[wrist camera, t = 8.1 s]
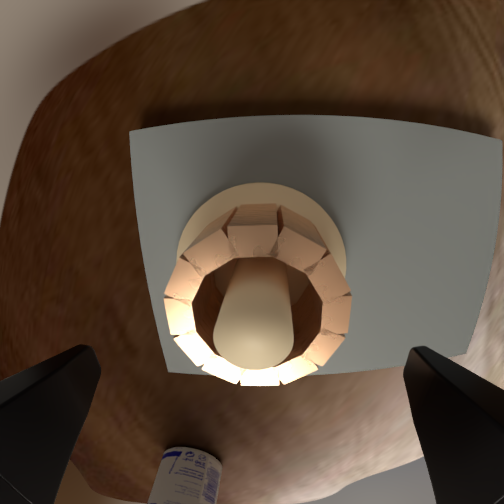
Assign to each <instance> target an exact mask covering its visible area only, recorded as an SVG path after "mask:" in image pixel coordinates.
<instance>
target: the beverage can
mask: <svg viewBox="0 0 504 504" xmlns="http://www.w3.org/2000/svg"><path fill="white" fill-rule="evenodd" d="M221 472H222V465H221V463H220V462H219V461H218V460H217V459H216V458H215V457H213V456H212V455H210V454H208V453H206V452H204V451H201V450H198V449H194V448H188V447H174V448H171V449H168V450H166V451H165V452H164V455H163V458H162V461H161V464H160V467H159V470H158V473H157V476H156V479H155V482H154V485H153V488H152V491H151V494H150V497H149V500H148V503H147V504H216V502H217V496H218V490H219V484H220V478H221Z"/></svg>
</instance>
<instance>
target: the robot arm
mask: <svg viewBox="0 0 504 504" xmlns="http://www.w3.org/2000/svg"><path fill="white" fill-rule="evenodd" d="M100 375H101V367H100V364H99V362H98V359H97V357H96V354H95V351H94V349H93V348H92V347H91V346H89V345H83V344H80V345H77V346H75V347H73V348H71V349H69V350H66V351H64V352H62V353H60V354H58V355H56V356H54V357H52V358H49V359H47V360H45V361H43V362H41V363H39V364H37V365H34V366H32V367H30V368H28V369H26V370H24V371H22V372H19V373H17V374H15V375H13V376H11V377H9V378H6V379H4V380H2V381H0V504H54V502H55V499H56V496H57V493H58V489H59V487H60V484H61V481H62V478H63V476H64V473H65V470H66V467H67V465H68V462H69V459H70V457H71V454H72V452H73V449H74V446H75V444H76V441H77V439H78V436H79V434H80V432H81V429H82V427H83V424H84V422H85V420H86V417H87V415H88V412H89V409H90V406H91V403H92V399H93V396H94V393H95V390H96V387H97V384H98V381H99V378H100ZM403 377H404V382H405V386H406V390H407V394H408V399H409V403H410V408H411V413H412V417H413V422H414V425H415V428H416V432H417V435H418V438H419V441H420V444H421V448H422V451H423V454H424V458H425V461H426V464H427V468H428V472H429V475H430V479H431V483H432V487H433V491H434V495H435V499H436V504H504V390H503V389H501V388H499V387H497V386H496V385H494V384H492V383H490V382H489V381H487V380H485V379H483V378H482V377H480V376H478V375H476V374H475V373H473V372H471V371H469V370H467V369H466V368H464V367H462V366H460V365H459V364H457V363H455V362H453V361H452V360H450V359H448V358H446V357H444V356H443V355H441V354H439V353H437V352H436V351H434V350H432V349H430V348H428V347H427V346H416V347H412V348H411V349H410V351H409V354H408V358H407V361H406V364H405V367H404V372H403Z"/></svg>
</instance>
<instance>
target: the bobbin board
mask: <svg viewBox="0 0 504 504" xmlns="http://www.w3.org/2000/svg"><path fill="white" fill-rule="evenodd" d="M129 133H130V151H131V164H132V176H133V187H134V196H135V205H136V213H137V221H138V228H139V235H140V242H141V248H142V254H143V260H144V266H145V272H146V277H147V283H148V288H149V293H150V298H151V302H152V307H153V312H154V316H155V321H156V325H157V329H158V334H159V338H160V342H161V346H162V350H163V354H164V357H165V361H166V365H167V368H168V372H174V373H186V374H201V375H213V374H211V373H208V372H206V371H204V370H202V366H203V364H202V365H200V366H197V365H196V364H195V363H194V362H193V361H192V360H191V359H190V358H189V357H188V355H187V354H186V353H185V352H184V351H183V350H182V349H181V347H180V346H179V345H178V344H177V343H176V342H175V341H174V339H173V338H174V336H175V335H173V334H171V333H170V328H169V324H168V319H167V314H166V309H165V304H164V297H165V296H166V294H164V292H165V290H166V287H167V285H168V282H169V280H170V278H171V275H172V273H173V271H174V268H175V266H176V264H177V261H178V259H179V257H180V256H181V255H182V254H183V252H184V251H185V250H186V249H187V248H188V247H189V245H190V244H191V243H192V242H193V241H194V240H195V239H196V237H197V236H198V235H199V234H200V233H201V232H202V231H203V230H204V228H205V227H206V226H207V225H208V224H209V223H211V222H212V221H214V220H215V219H217V218H218V217H220V216H222V215H223V214H225V213H226V212H228V211H229V210H231V209H232V208H234V207H236V206H237V207H238V209H239V207H240V205H241V204H270V203H276V210H278V208H279V207H280V205H283V206H285V207H286V208H288V209H290V210H292V211H294V212H296V213H297V214H299V215H301V216H303V217H305V218H307V219H308V220H310V221H311V222H312V224H314V225H315V226H316V228H317V230H318V232H319V233H320V235H321V237H322V239H323V240H324V242H325V244H326V246H327V247H328V249H329V251H330V253H331V254H332V256H333V258H334V260H335V262H336V263H337V265H338V267H339V269H340V271H341V273H342V274H343V276H344V278H345V280H346V282H347V284H348V286H349V288H350V289H351V291H350V293H351V295H352V302H351V311H350V319H349V327H348V333H344V335H345V339H344V341H343V342H342V343H341V344H340V346H339V347H338V348H337V349H336V351H335V352H334V353H333V354H332V355H331V357H330V358H329V359H328V360H327V362H326V363H325V364H324V365H323V366H320V365H318V364H317V365H318V370H316V371H314V372H312V373H309V374H307V375H321V374H336V373H347V372H358V371H367V370H376V369H384V368H391V367H398V366H405V364H406V361H407V358H408V354H409V351H410V349H411V348H412V347H416V346H427V347H428V348H430V349H432V350H434V351H436V352H437V353H439V354H441V355H443V356H444V357H446V358H448V357H453V356H457V355H462V354H466V352H467V349H468V346H469V343H470V341H471V338H472V335H473V332H474V329H475V326H476V323H477V320H478V316H479V313H480V310H481V306H482V303H483V299H484V295H485V291H486V287H487V283H488V279H489V274H490V270H491V265H492V260H493V255H494V249H495V243H496V236H497V229H498V222H499V213H500V202H501V188H502V140H499V139H495V138H491V137H487V136H483V135H479V134H475V133H470V132H465V131H461V130H456V129H451V128H445V127H439V126H434V125H427V124H421V123H414V122H406V121H398V120H389V119H379V118H367V117H352V116H331V115H269V116H248V117H233V118H221V119H210V120H201V121H192V122H184V123H177V124H170V125H163V126H157V127H151V128H145V129H140V130H134V131H129ZM214 276H215V285H216V287H217V288H218V290H219V291H220V292H221V294H222V295H223V296H224V300H223V303H222V306H221V309H220V312H219V315H218V319H217V322H216V325H215V328H214V332H213V341H214V345H215V347H216V349H217V351H218V353H219V354H220V355H221V356H222V357H223V358H224V359H225V360H226V361H227V362H229V363H230V364H232V365H234V366H236V367H239V368H242V369H247V370H263V369H268V368H271V367H274V366H276V365H278V364H279V363H281V362H282V361H283V360H284V359H285V358H286V357H287V356H288V355H289V353H290V352H291V350H292V347H293V343H294V334H293V324H292V314H291V306H292V305H294V304H296V302H297V301H298V299H299V298H300V296H301V295H302V293H303V292H304V290H305V289H306V287H307V286H308V284H309V278H308V276H307V275H306V273H304V272H302V271H300V270H298V269H296V268H294V267H292V266H290V265H288V264H286V263H284V262H282V261H280V260H278V259H276V258H275V257H241V258H233V259H232V260H230V261H228V262H227V263H225V264H223V265H222V266H220V267H218V268H217V269H215V270H214Z"/></svg>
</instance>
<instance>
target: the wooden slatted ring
mask: <svg viewBox="0 0 504 504" xmlns="http://www.w3.org/2000/svg"><path fill="white" fill-rule="evenodd" d="M241 257H275V258H276V259H278V260H280V261H282V262H284V263H286V264H288V265H290V266H292V267H294V268H296V269H298V270H300V271H302V272H304V273H306V275H307V276H308V278H309V284H308V286H307V287H306V289H305V290H304V292H303V293H302V295H301V296H300V298H299V299H298V301H297V302H296V304H294V305H292V306H291V314H292V324H293V334H294V343H293V347H292V350H291V352H290V353H289V355H288V356H287V357H286V358H285V359H284V360H283V361H282V362H281V363H279V364H278V365H276V366H274V367H271V368H268V369H263V370H247V369H242V368H239V367H236V366H234V365H232V364H230V363H229V362H227V361H226V360H225V359H224V358H223V357H222V356H221V355H220V354H219V353H218V351H217V349H216V347H215V345H214V341H213V332H214V328H215V325H216V322H217V319H218V315H219V312H220V309H221V306H222V303H223V300H224V296H223V295H222V294H221V292H220V291H219V290H218V288H217V287H216V285H215V276H214V270H215V269H217V268H218V267H220V266H222V265H223V264H225V263H227V262H228V261H230V260H232V259H233V258H241ZM350 291H351V289H350V288H349V286H348V284H347V282H346V280H345V278H344V276H343V274H342V273H341V271H340V269H339V267H338V265H337V263H336V262H335V260H334V258H333V256H332V254H331V253H330V251H329V249H328V247H327V246H326V244H325V242H324V240H323V239H322V237H321V235H320V233H319V232H318V230H317V228H316V226H315V225H314V224H312V222H311V221H310V220H308V219H307V218H305V217H303V216H301V215H299V214H297V213H296V212H294V211H292V210H290V209H288V208H286V207H285V206H283V205H280V207H279V208H278V210H276V203H270V204H241V205H240V207H239V209H238V207H237V206H236V207H234V208H232V209H231V210H229V211H228V212H226V213H225V214H223V215H222V216H220V217H218V218H217V219H215V220H214V221H212V222H211V223H209V224H208V225H207V226H206V227H205V228H204V230H203V231H202V232H201V233H200V234H199V235H198V236H197V237H196V239H195V240H194V241H193V242H192V243H191V244H190V245H189V247H188V248H187V249H186V250H185V251H184V252H183V254H182V255H181V256H180V257H179V259H178V261H177V264H176V266H175V268H174V271H173V273H172V275H171V278H170V280H169V282H168V285H167V287H166V290H165V292H164V294H166V296H165V297H164V304H165V309H166V314H167V319H168V324H169V328H170V333H171V334H173V335H175V336H174V338H173V339H174V341H175V342H176V343H177V344H178V345H179V346H180V347H181V349H182V350H183V351H184V352H185V353H186V354H187V355H188V357H189V358H190V359H191V360H192V361H193V362H194V363H195V364H196V365H197V366H200V365H202V364H203V366H202V370H204V371H206V372H208V373H211V374H213V375H215V376H218V377H220V378H222V379H225V380H227V381H229V382H232V383H234V384H237V382H238V381H239V380H240V379H241V385H251V386H275V385H279V379H280V380H281V381H282V382H283V384H286V383H289V382H291V381H293V380H296V379H298V378H300V377H303V376H305V375H307V374H309V373H312V372H314V371H316V370H318V365H320V366H323V365H324V364H325V363H326V362H327V360H328V359H329V358H330V357H331V355H332V354H333V353H334V352H335V351H336V349H337V348H338V347H339V346H340V344H341V343H342V342H343V341H344V339H345V335H344V333H348V327H349V319H350V311H351V302H352V295H351V293H350ZM317 364H318V365H317Z"/></svg>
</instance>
